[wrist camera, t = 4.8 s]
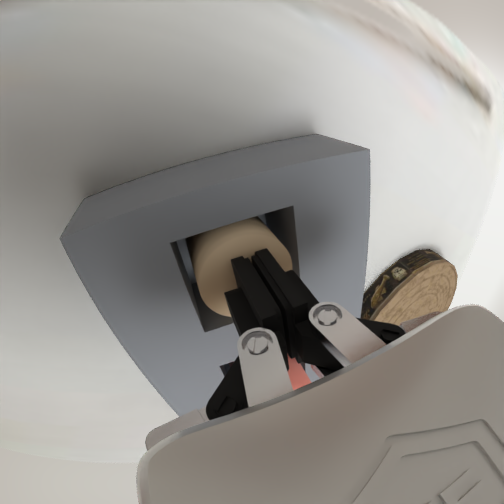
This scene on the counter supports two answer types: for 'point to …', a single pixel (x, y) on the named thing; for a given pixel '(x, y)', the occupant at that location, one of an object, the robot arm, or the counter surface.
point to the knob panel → (207, 218)
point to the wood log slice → (411, 289)
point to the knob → (229, 257)
